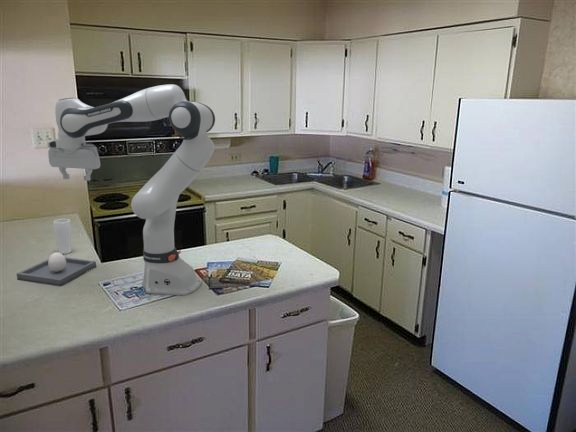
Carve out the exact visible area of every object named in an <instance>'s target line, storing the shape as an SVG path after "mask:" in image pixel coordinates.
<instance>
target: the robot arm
mask: <svg viewBox="0 0 576 432" xmlns="http://www.w3.org/2000/svg"><path fill="white" fill-rule="evenodd" d="M54 109H55V110H54V111H55V113H54V114H55V121H56V122H55V123H56V125H57V128H58V130H57V131H58V133H57V135H58V136H57V137H58V138H56V139H54V140H50V141H48V142H47V147H48V153H47V155H48V162H49V166H51V167H52V168H58V169H59V172H60V173H61V174H62V178H63V180H69V179H70V174H69V173H68V172H67V171H66V170H67V169H82V170H83V169H84V170H85V172H86V174H85V175H83V179H84V181H91V180H92V179H91V175H92V173H93V170H97V169H100V168H101V160H100V155H99V151H98V150H99V149H98V147H97V146H96V145H94V144H93V143H86V137H87V136H94V135H100V134H102V133H104V132H106V130H107V129H108V127H109V125H110V124H113V123H121V122H123V123H124V122H125V123H126V122H127V123H128V122H131V123H132V122H133V123H135V122H137V123H140V122H141V123H142V122H153V121H157V120H162V119H164V118H165V119H166V118H168V120H169V124H170V126H171V128H172V129H173V130H174V131H175V133H176V134H177V136H178V137H179V139H181V140H183V141H182V142H181V144H180V146H179V147H178V148H177V149H176V150H175V151H174V152H173V154H172V155H171V156H170V157H169V159H168V160H167V161H166V162H165V163H164V164H163V166H161V168H160V169H159V170H158V171H157V172H156V173H155V174H154V175H153V176H152V177H151V178H150V179H149V180H148V181H147V182H146V183H145V184H144V185H143V186H142V187H141V188H140V189H139V190H138V192H137V193H136V194H135V195H134V196H133V197H132V199H131V203H130V206H131V210H132V212H133V214H134V215H135V216H136V217H138V218H139V219H142V220H145V222H144V225H143V227H142V228H143V229H142V239H143V249H142V256H143V262H144V269H143V270H144V271H143V279H142V282H141V285H142V286H141V287H142V288H143V289H145V293H147V294H156V295H157V294H158V295H173V296H174V295H175V296H176V295H177V296H186V295H189V294H190V295H191V294H192V293H194V292H195V291H196V290H197V289H199V288H200V287H201V285H202V283H203V282H202V278H200V277H197V276H196V272H195V269H194V267H193V266H192V265H191V264H189V263H188V262H186V261H185V260H184V259H183V258H181V257H180V254H181V253H182V252H181V251H182V250H181V249H180V250H177V248H176V247H175V220H176V214H177V204H178V200H179V198H180V195H181V194H182V193H183V192H184V191H185V190H186V189H187V188H188V187H189V185H190V184H191V183H193V181H194V180H195V179H196V178H197V176H198V175H199V174H200V173H201V171H203V169H204V168H205V167H206V165H207V164H208V162H209V161H210V159H211V157H212V155H213V154H214V152H215V143H214V142H213V140H212V139H211V138H210V137H209V135H208V134H207V133H208V132H210V131H211V130H212V129H213V128H214V126H215V123H216V116H215V113H214V111H213V110H212V108H210V106H208V105H206V104H204V103H200V102H198V101H194V100H190V101H188V100H187V97H186V95H185V92H184V91H183V89H182V88H181V87H180V86H179V85H177V84H171V83H170V84H167V83H166V84H162V85H156V86H151V87H147V88H144V89H141V90H139V91H136V92H134V93H132V94H130V95H127V96H125V97H123V98H120V99H117V100H115V101H113V102H110V103H106V104H103V105H99V106H96V107H95V106H91V105H88V104H86V103H84V102H82V101H81V100H80V99H79V98H78V97H65V98H61V99H58V100H57V101H56V103H55V107H54Z"/></svg>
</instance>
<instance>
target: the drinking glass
mask: <svg viewBox="0 0 576 432" xmlns="http://www.w3.org/2000/svg"><path fill="white" fill-rule="evenodd" d="M52 224H53V231H54V236H55V240H56V244H57V249H58V250H57V251H58V253H61V254H62V255H67V254H70V253H72V252H73V251H72V250H73V248H72V225H71V219H69V218H59V219H55V220H53V223H52Z"/></svg>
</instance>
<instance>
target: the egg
mask: <svg viewBox="0 0 576 432" xmlns="http://www.w3.org/2000/svg"><path fill="white" fill-rule="evenodd" d="M65 257H66V256H64V254H61V253H59V251H57V252H53V253H51V254H50V256H49V257H48V259H49V260H48V265H49V268H50V269H51V270H53V271H55V272H59V271H62V270H63V269H64V268H65V266H66V259H65Z"/></svg>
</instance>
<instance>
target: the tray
mask: <svg viewBox="0 0 576 432" xmlns="http://www.w3.org/2000/svg"><path fill="white" fill-rule="evenodd" d="M64 257H65V259H66V266H65V268H64V269H63V270H62V271H59V272H55V271H53V270H51V269H50V268H49V265H48V260H49V258H48V259H45V260H43V261H41V262H39V263H37V264H35V265H32V266H29V267H28V268H26V269H24V270H21V271H19V272H17V273H16V278H17V280H18V281H24V282H30V283H31V282H32V283H36V284H45V285H50V286H51V285H52V286H54V287H55V286H56V287H57V286H58V287H62V286H64V285H66V284H68V283H69V282H72V281H73V280H75V279H77V278H79V277H80V276H83V275H84V274H86V273H88V272H90V271H92V270H93V269H95V268H97V262H96V260H88V259H82V258H74V257H68V256H67V257H66V256H64ZM91 269H92V270H91ZM89 270H90V271H89ZM87 271H88V272H87Z"/></svg>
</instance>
